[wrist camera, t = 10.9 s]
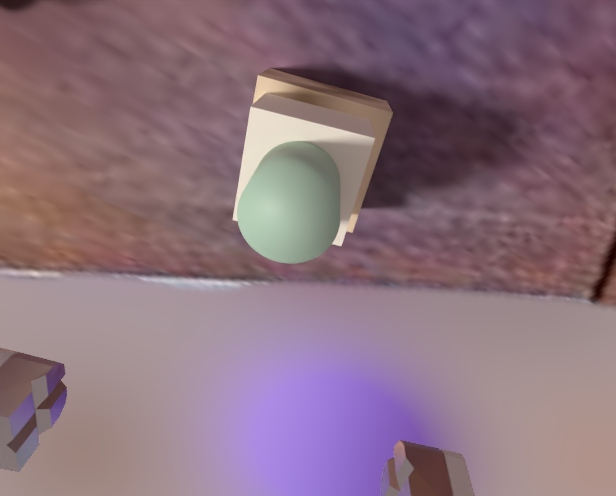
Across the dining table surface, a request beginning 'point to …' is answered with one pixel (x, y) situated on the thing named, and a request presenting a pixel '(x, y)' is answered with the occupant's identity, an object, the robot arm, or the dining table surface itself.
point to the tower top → (312, 129)
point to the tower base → (334, 100)
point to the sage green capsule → (291, 203)
